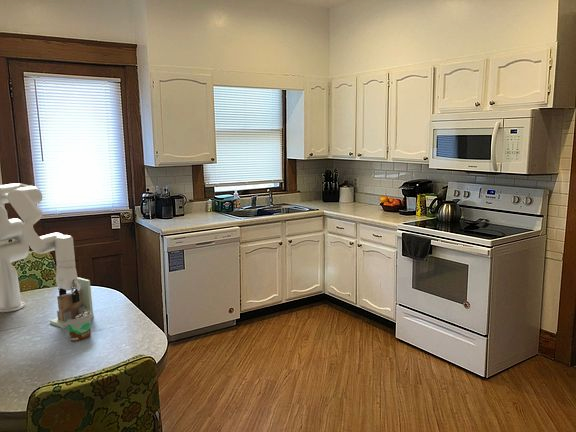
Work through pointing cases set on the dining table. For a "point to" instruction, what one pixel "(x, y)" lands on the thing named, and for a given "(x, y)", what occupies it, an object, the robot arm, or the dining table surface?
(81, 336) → the food container
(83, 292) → the hinge base
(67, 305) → the wooden block
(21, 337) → the dining table surface
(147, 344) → the dining table surface
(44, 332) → the dining table surface
